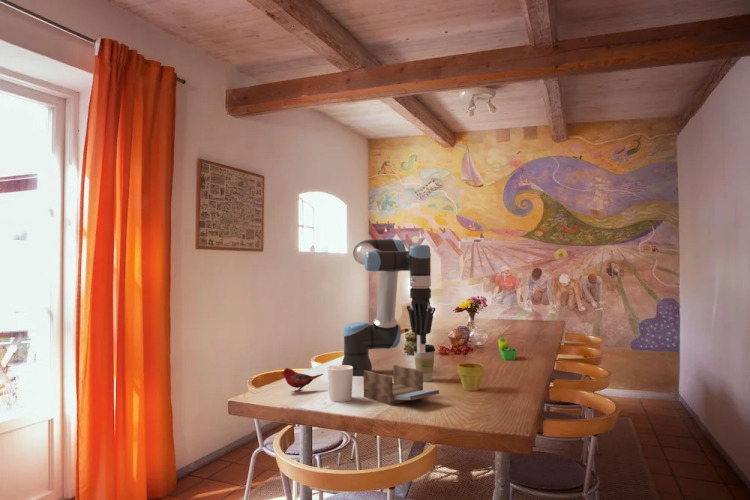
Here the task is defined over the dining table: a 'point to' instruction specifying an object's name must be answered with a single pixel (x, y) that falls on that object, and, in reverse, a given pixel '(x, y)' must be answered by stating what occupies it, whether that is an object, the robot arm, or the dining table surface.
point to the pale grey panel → (416, 395)
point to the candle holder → (340, 382)
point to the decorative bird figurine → (297, 379)
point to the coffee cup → (425, 361)
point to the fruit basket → (506, 350)
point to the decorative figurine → (409, 342)
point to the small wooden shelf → (392, 384)
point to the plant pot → (470, 375)
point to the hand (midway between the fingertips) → (421, 352)
